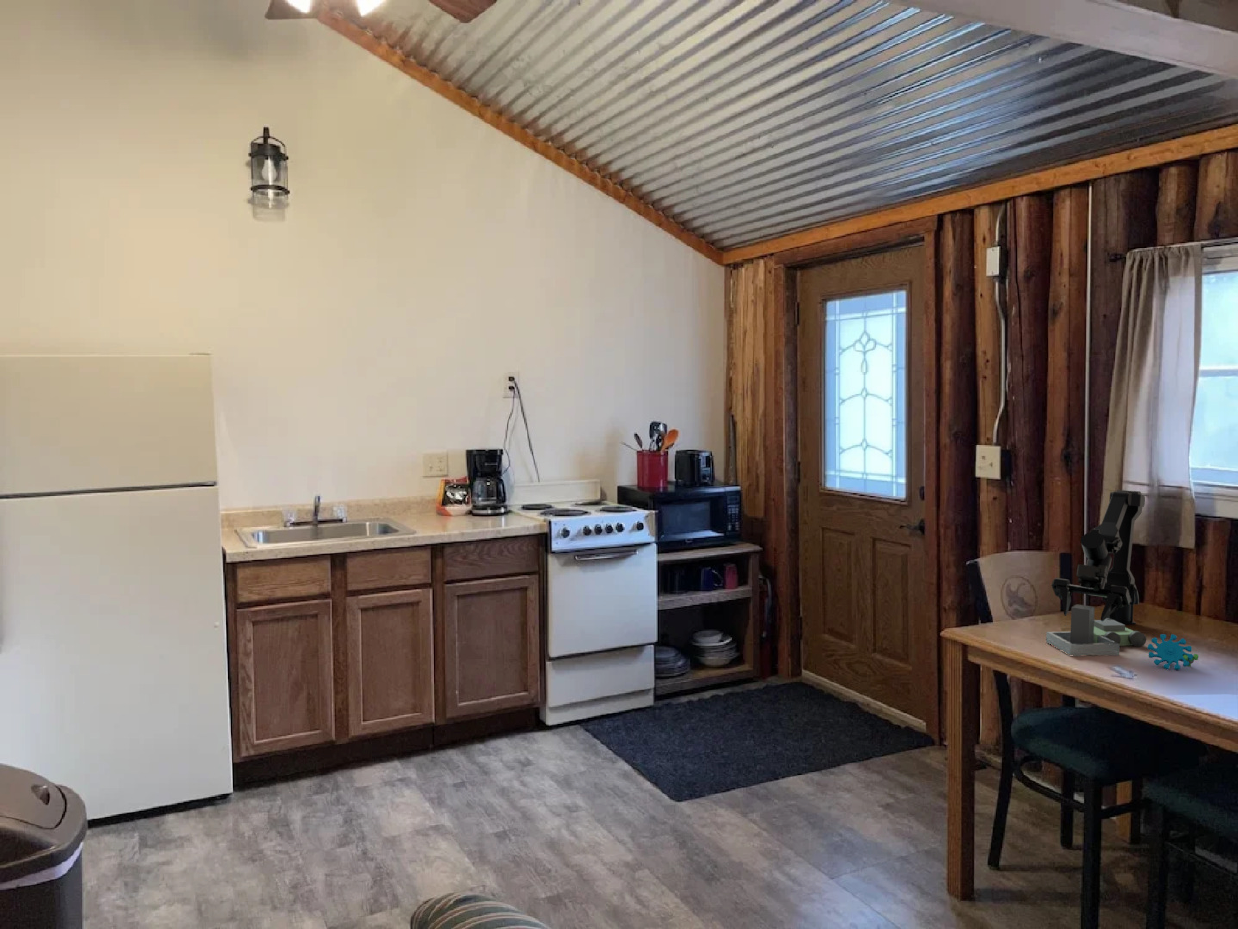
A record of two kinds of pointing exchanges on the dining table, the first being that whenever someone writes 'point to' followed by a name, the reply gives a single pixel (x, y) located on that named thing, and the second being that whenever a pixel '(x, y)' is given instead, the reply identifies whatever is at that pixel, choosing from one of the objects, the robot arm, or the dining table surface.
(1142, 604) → the dining table surface
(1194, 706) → the dining table surface
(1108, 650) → the grey tray
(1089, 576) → the robot arm
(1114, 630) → the toy car
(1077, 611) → the grey block
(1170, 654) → the teal spiky round piece
